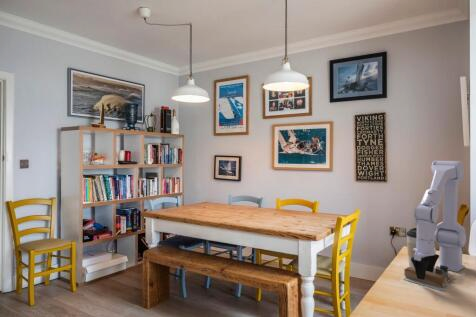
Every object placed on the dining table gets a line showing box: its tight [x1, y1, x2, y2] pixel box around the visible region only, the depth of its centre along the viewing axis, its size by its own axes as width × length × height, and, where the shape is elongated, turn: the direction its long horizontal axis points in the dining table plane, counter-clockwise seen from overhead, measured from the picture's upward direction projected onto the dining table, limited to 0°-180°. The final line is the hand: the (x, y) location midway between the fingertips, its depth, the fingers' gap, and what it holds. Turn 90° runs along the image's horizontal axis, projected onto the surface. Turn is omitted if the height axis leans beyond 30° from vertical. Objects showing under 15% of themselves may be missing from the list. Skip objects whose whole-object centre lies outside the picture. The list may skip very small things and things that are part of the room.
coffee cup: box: [406, 227, 417, 268], centre depth 136 cm, size 9×9×15 cm
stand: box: [434, 265, 451, 282], centre depth 124 cm, size 6×11×4 cm, turn 41°
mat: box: [403, 278, 451, 292], centre depth 118 cm, size 7×13×1 cm, turn 41°
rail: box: [404, 266, 448, 288], centre depth 119 cm, size 3×13×3 cm, turn 40°
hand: (424, 276), depth 119 cm, fingers open, 7 cm apart
